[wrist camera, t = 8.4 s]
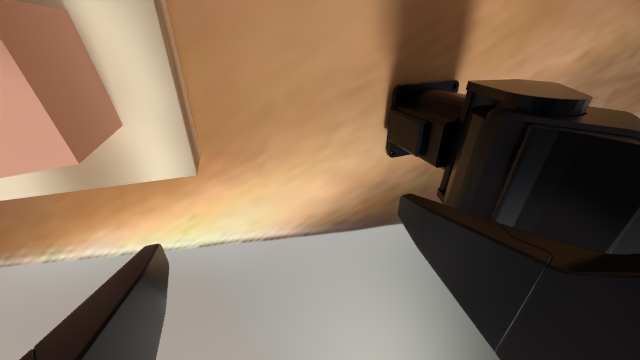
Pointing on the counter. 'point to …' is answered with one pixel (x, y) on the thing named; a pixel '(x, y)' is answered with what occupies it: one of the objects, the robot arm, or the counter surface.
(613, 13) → the counter surface
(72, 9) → the birch block
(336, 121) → the counter surface
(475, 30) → the counter surface
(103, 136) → the cube
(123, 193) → the counter surface
